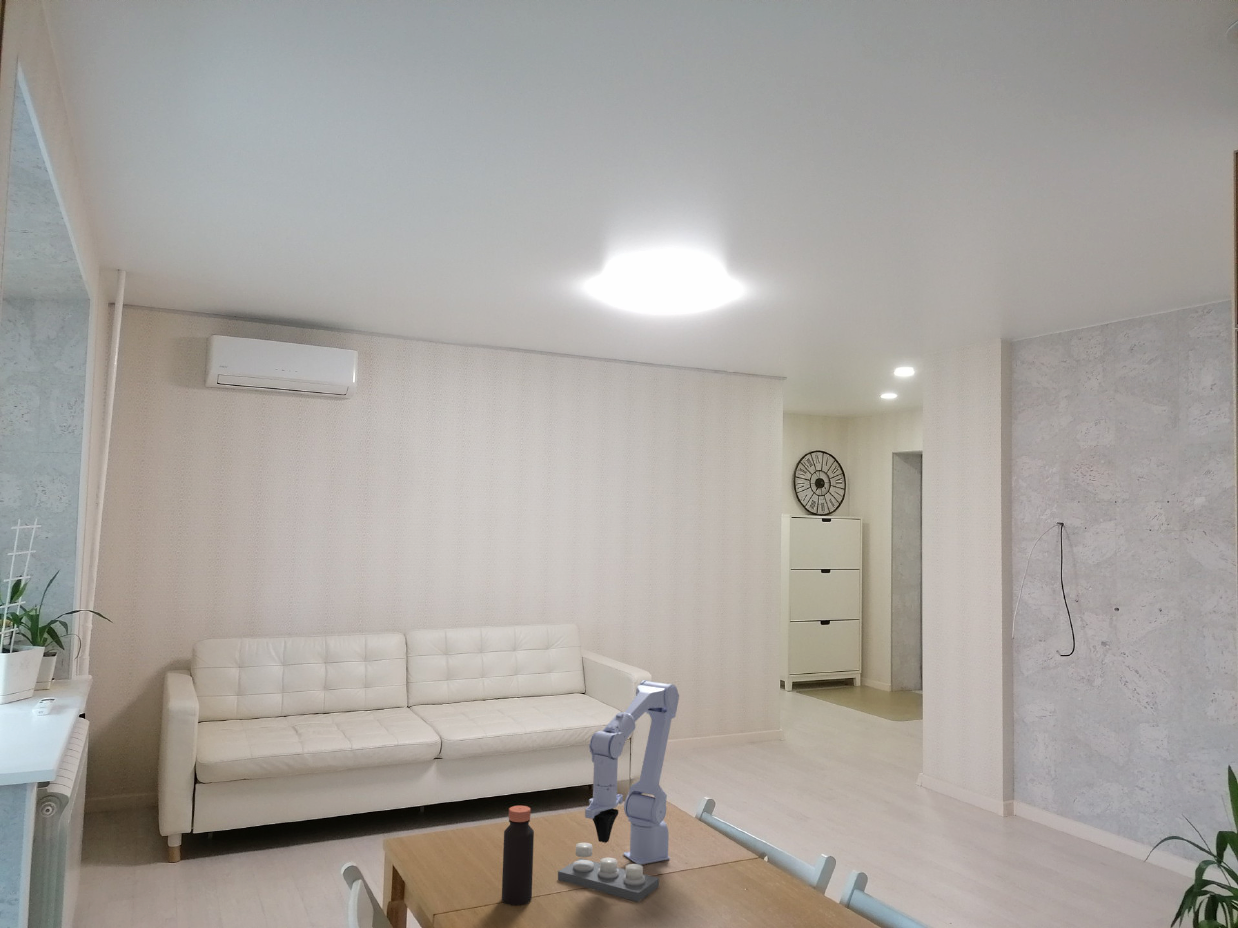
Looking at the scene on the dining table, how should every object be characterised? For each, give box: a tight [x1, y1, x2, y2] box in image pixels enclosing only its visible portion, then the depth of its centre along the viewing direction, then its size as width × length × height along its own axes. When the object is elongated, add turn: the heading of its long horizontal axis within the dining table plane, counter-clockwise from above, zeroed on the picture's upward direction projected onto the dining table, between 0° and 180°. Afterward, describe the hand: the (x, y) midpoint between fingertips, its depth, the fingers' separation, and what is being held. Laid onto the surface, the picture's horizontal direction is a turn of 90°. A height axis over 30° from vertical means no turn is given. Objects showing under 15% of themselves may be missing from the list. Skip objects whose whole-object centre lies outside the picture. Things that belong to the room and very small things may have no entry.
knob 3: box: [625, 863, 644, 880], centre depth 204 cm, size 4×4×2 cm
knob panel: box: [557, 857, 660, 903], centre depth 208 cm, size 22×10×3 cm, turn 60°
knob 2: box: [599, 857, 618, 873], centre depth 208 cm, size 4×4×2 cm
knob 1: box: [575, 842, 593, 858], centre depth 212 cm, size 4×4×2 cm
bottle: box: [501, 805, 535, 906], centre depth 198 cm, size 7×7×20 cm
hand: (603, 841), depth 209 cm, fingers closed
